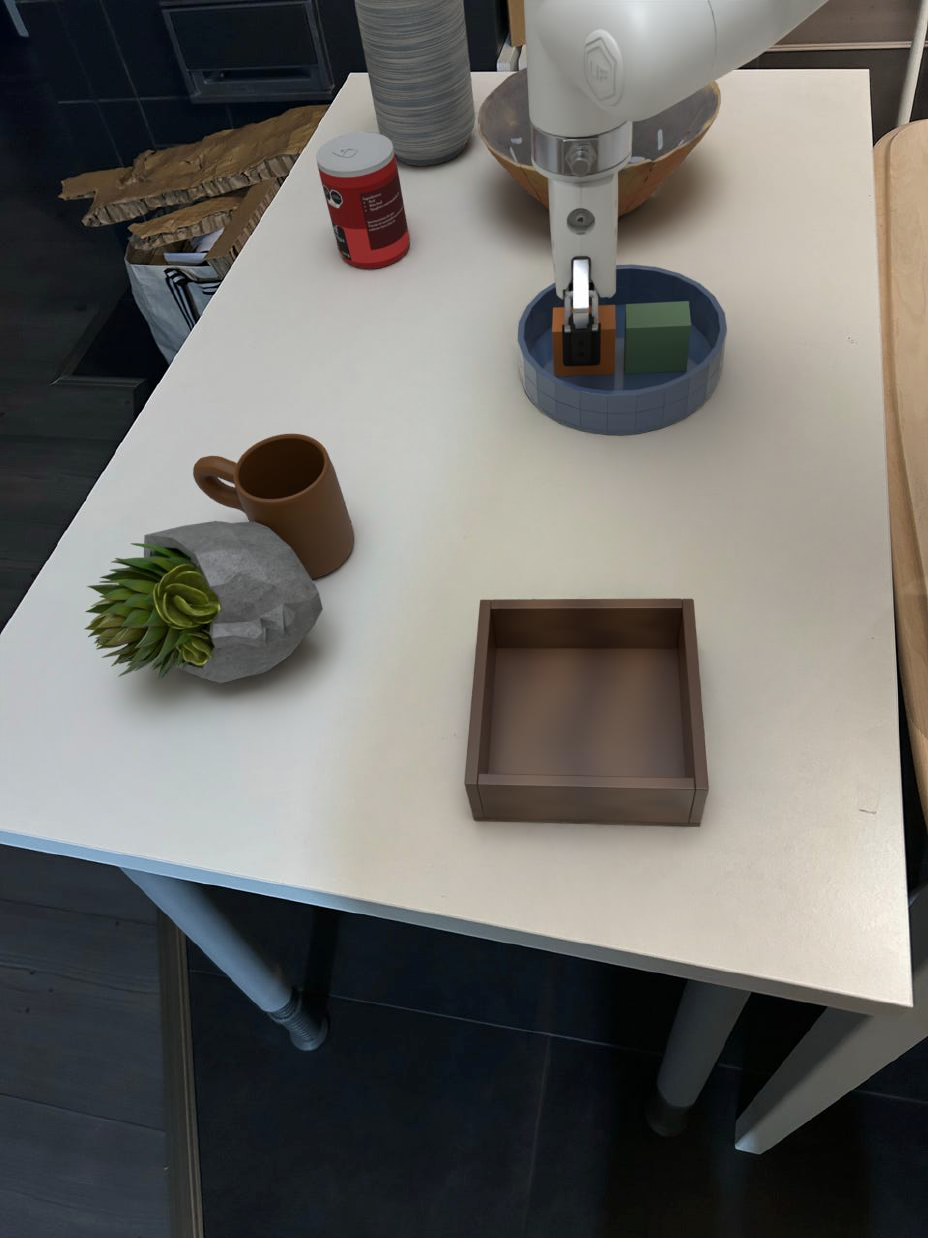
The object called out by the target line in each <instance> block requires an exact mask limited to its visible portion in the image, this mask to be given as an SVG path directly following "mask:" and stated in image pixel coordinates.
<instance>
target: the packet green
mask: <svg viewBox="0 0 928 1238" xmlns="http://www.w3.org/2000/svg"><path fill="white" fill-rule="evenodd" d="M690 332H691V319H690V309H689V301H682V302H661V303H641V304H626V305H625V333H624V366H625V374H632V373H658V372H684V371H687V362H688V352H689V342H690Z"/></svg>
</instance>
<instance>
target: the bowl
mask: <svg viewBox="0 0 928 1238" xmlns="http://www.w3.org/2000/svg"><path fill="white" fill-rule="evenodd" d="M721 103H722V94H721V89H720V87H719V83H717V80H715V81H714V82H712V83H710V84H708V85H707V86H705V87H703V88H701V89H699V90H697V91H696V92H695V93H694V94H692V95H690V96H689V97H687V98H685V99H683V100H682V101H680V102H678V103H676V104H675V105H673V106H671V107H669V108H667V109H666V110H664V111H662V112H660V113H659V114H657V115H654V116H652V117H650V118H648V119H644V120H641V121H633V131H632V154H631V158H630V160H629V162H628V163H627V165H626V166H625V167H624V168H622V169H621V170H620V171H618V218H620V217H621V216H624V215H626V214H628V213H630V212H632V211H633V210H635V209H637V208H638V207H640V206H641V205H642V204H644V203H645V202H646V201H647V200H649V198H651V196H652V195H653V194H654V193H655V192H656V191H657V190H658V189H659V188H660V187H661V186H662V184H663V183H664V182H665V181H666V180H667V179H668V178H670V176H671V175H672V174H673V173H674V172H675V171H676V170H677V169H678V168H679V166H680V165H681V164H682V163H683V161H685V159H686V158H687V157H688V156H689V154H690V153H691V152H692V151H693V150H694V149H695V148H696V146H697V145H698V144H699V143H700V142H701V141H702V139H703V138H704V137H705V135H706V134H707V133H708V131H709V130H710V129H711V126H712V125H713V123H714V122H715V121H716V119H717V117H718V115H719V113H720V109H721ZM529 117H530V116H529V98H528V77H527V66H525V67H524V68H522V69H520V70H518V71H516V72H514V73H512V74H510V75H509V76H507V77H506V78H505V79H504V80H503V81H502V82H501V83H500V84H498V86H496V87H495V88H494V89H493V90H492V91H491V92H490V93H489V94H488V95H487V96H486V97H485V99H484V100H483V102H482V103H481V105H480V107H479V111H478V115H477V126H478V127H477V130H478V135H479V136H480V139H481V140H482V141H483V144H485V146H486V148H487V150H488V151H489V153H490V154H491V156H492V157H494V159H495V160H496V161H497V162H498V163H499V164H500V165H501V166H502V168H503V169H504V170H505V171H506V172H507V173H508V174H509V175H510V176H511V177H512V178H513V179H514V180H515V181H516V182H517V184H519V185H520V186H521V187H522V188H523V189H524V190H525V191H526V192H527V193H528V194H529V195H531V196H533V198H535V199H536V200H537V201H538V202H540V203H541V204H542V205H544V206H545V207H546V208H547V209H548V210H549V190H548V178H547V177H545V176H543V175H541V174H540V173H539V172H538V171H536V169H535V168H534V167H533V164H532V159H531V139H530V119H529Z"/></svg>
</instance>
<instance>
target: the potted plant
mask: <svg viewBox="0 0 928 1238" xmlns="http://www.w3.org/2000/svg"><path fill="white" fill-rule="evenodd" d="M143 536H144V537H143V538H144V539H143V543H141V542H132V543H130V545H132V546H135V547H141V548H143V556H142V557H141V556H140V557H139V556H138V557H129V558H128V557H127V558H118V557H115V558H114V559H115V560H111V564H112V563H114V564H120V565H122V566H126V567H120V568H112V569H109V572H112V573H109V574H106V575H102V576H99V578H100V579H104V580H101V581H98V583H100V584H92V585H87V586H86V588H89V589H92V590H94V591H95V592H97V593H99V594H101V595H100V596H99V598H101V600H99V601H97V602H96V603H94V604H92V605H91V606H90V609H88V610H87V609H86V610H85V611H84V613H89V614H90V613H92V614H96V615H97V614H98V615H97V616H95V617H94V618H93V619H92V620H91V621H90V623H89V625H88V626H86V627H85V628H84V630H87V631H91V633H90V634H89V635H88V636H87V638H90V637H93V636H94V637H95V641H94V642H93V644H95V645H96V648H95V650H96V651H98V650H102V649H115V648H119V647H121V648H119V649H117V650H114V651H111V652H109V653H107V654H105V655H103V656H101V658H102V659H103V658H109V657H116V656H117V658H116V659H115V661H114V662H113V663H112V665H110V667H114V666H116V665H118V664H119V665H122V664H125V663H127V664H126V667H127V669H125V670H124V671H123V672H121V673H120V674H119V675H117V677H118V678H119V677H121V676H124V675H127V674H130V673H131V672H133V671H134V672H137V671H139V670H141V669H142V668H145V667H146V666H148V665H150V664H151V663H152V662H153V661H154V662H153V663H152V664H151V665H150V667H149V668H148V670H152V671H156V670H157V669H158V668H160V669H159V671H158V675H157V678H156V680H159V679H160V680H161V679H163V678H165V677H166V676H168V674H169V673H170V672H171V671H172V670H173V669H174V668H176V669H179V672H182V671H184V672H186V673H189V674H192V675H195V676H197V677H200V678H202V679H205V680H208V681H212V682H215V683H219V684H224V683H226V682H227V683H228V682H231V681H235V680H238V679H243V678H245V677H246V678H247V677H251V676H254V675H259V674H263V673H266V672H268V671H269V670H271V669H273V668H274V667H275V666H277V665H278V664H279V663H281V662H282V661H283V660H285V659H286V658H288V657H289V656H291V655H292V653H293V652H294V651H295V650H296V648H297V647H298V646H299V645H300V643H301V642H302V641H303V640H304V639H305V637H306V636H307V635H308V634H309V632H310V631H311V629H312V628H313V627H314V626H315V624H316V623H317V621H318V619H319V618H320V615H321V613H322V611H323V603H322V600H321V596H320V592H319V590H318V588H317V586H316V585H315V583H314V581H313V580H312V579H311V578H310V576H309V574H308V573H307V571H306V570H305V568H304V567H303V565H302V563H301V562H300V560H299V559H298V557H297V556H296V554H295V553H294V551H293V549H292V548H291V547H290V546H289V545H288V544H286V543H285V542H284V541H283V540H282V539H281V538H280V537H279V536H277V535H276V534H275V533H274V532H273V531H272V530H271V529H270V528H269V527H266V526H264V525H261V524H259V523H257V522H254V521H252V522H249V521H242V522H227V521H218V520H212V521H206V522H200V523H199V522H198V523H192V524H186V525H184V524H183V525H181V526H176V527H173V528H168V529H164V530H159V531H155V532H152V533H147V534H144V535H143ZM96 636H97V637H96ZM122 646H123V647H122Z"/></svg>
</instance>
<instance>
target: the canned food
mask: <svg viewBox="0 0 928 1238" xmlns="http://www.w3.org/2000/svg"><path fill="white" fill-rule="evenodd" d="M316 164H317V170H318V173H319V178H320V182H321V186H322V190H323V195H324V198H325V202H326V206H327V209H328V215H329V217H330V222H331V226H332V229H333V234H334V237H335V241H336V245H337V249H338V252H339V254H340V256H341V257H342V259H343V260H344V261H345V262H346V263H347V264H349V265H350V266H353V267H354V268H359V269H367V270H371V269H373V270H374V269H380V268H385V267H387V266H390V265H392V264H393V265H394V264H395V263H397V262H398V261H399V260H400V259H402V258H403V257H404V256H405V255H406V254H407V252H408V250H409V247H410V231H409V227H408V221H407V216H406V215H407V214H406V208H405V203H404V198H403V192H402V186H401V180H400V174H399V168H398V162H397V156H396V154H395V152H394V148H393V144H392V142H391V140H389V139H388V138H387V137H385V136H383V135H381V134H379V132H378V133H377V132H371V131H370V132H369V131H362V132H361V131H358V132H357V131H356V132H350V133H345V134H342V135H339V136H337V137H334V138H332V139H330V140H328V141H327V142H325V143H324V144H322V146H321V147H320V148H319V149H318V150H317V152H316Z"/></svg>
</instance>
